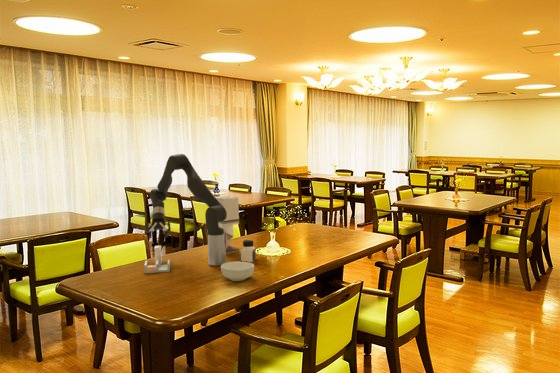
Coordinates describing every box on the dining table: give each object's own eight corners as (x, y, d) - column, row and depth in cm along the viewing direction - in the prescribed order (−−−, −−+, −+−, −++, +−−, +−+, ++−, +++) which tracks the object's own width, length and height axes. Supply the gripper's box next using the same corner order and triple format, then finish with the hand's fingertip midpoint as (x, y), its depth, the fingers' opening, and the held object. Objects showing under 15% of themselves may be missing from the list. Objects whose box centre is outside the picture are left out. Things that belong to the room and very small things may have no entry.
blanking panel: (155, 262, 264) (154, 245, 263) (161, 262, 264) (161, 245, 264) (155, 265, 258) (154, 248, 257) (161, 264, 259) (160, 247, 258)
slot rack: (145, 267, 252) (145, 260, 252) (169, 266, 255) (169, 259, 255) (144, 273, 242) (144, 265, 241) (169, 271, 245) (169, 263, 244)
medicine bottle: (252, 262, 263) (252, 241, 262) (240, 261, 264) (240, 241, 263) (255, 259, 270) (255, 239, 269) (244, 258, 271) (244, 238, 270)
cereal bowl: (240, 285, 219) (240, 271, 218) (214, 280, 228) (214, 266, 227) (260, 277, 233) (260, 263, 233) (235, 272, 242) (234, 259, 241)
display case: (224, 254, 282) (223, 198, 278) (215, 251, 290) (213, 197, 286) (239, 251, 289) (238, 197, 286) (229, 248, 297) (228, 195, 294)
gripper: (146, 212, 276) (145, 234, 266) (170, 211, 279) (170, 233, 269) (146, 219, 281) (146, 241, 271) (170, 218, 284) (170, 240, 274)
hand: (158, 237), depth 270 cm, fingers open, 8 cm apart
